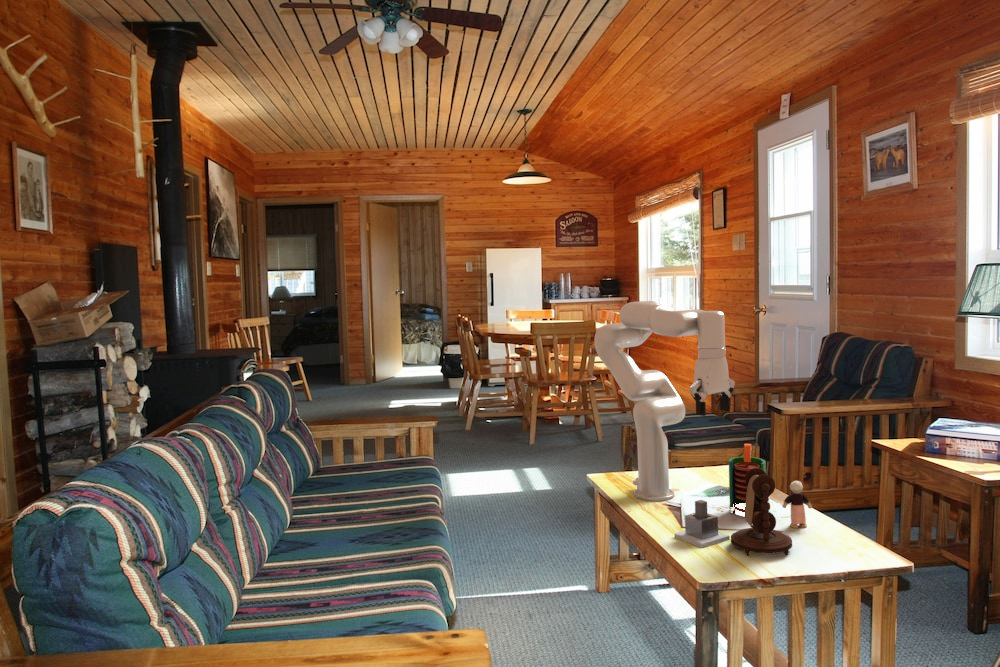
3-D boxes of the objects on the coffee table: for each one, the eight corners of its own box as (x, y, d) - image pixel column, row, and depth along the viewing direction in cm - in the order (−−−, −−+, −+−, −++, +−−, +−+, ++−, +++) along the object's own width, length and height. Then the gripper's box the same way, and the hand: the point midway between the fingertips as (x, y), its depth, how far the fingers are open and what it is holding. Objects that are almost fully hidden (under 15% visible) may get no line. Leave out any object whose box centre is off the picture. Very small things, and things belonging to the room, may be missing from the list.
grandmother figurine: (806, 522, 208) (805, 478, 207) (813, 527, 204) (813, 481, 203) (780, 525, 207) (779, 480, 206) (787, 529, 203) (786, 483, 202)
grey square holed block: (685, 533, 201) (685, 515, 200) (701, 529, 204) (701, 511, 203) (702, 539, 195) (701, 521, 195) (718, 535, 199) (717, 516, 198)
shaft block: (674, 537, 201) (673, 500, 201) (701, 529, 206) (700, 493, 206) (702, 547, 193) (701, 509, 192) (729, 539, 198) (728, 502, 197)
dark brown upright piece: (724, 539, 198) (723, 464, 197) (781, 537, 197) (780, 463, 196) (739, 559, 184) (737, 479, 182) (800, 558, 183) (799, 478, 181)
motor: (730, 517, 216) (729, 448, 214) (728, 507, 224) (727, 442, 223) (767, 518, 213) (766, 449, 212) (764, 508, 222) (763, 442, 221)
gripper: (723, 350, 222) (724, 407, 223) (680, 355, 213) (681, 415, 214) (742, 352, 215) (744, 410, 217) (699, 357, 207) (701, 418, 208)
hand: (713, 412), depth 216 cm, fingers open, 9 cm apart
